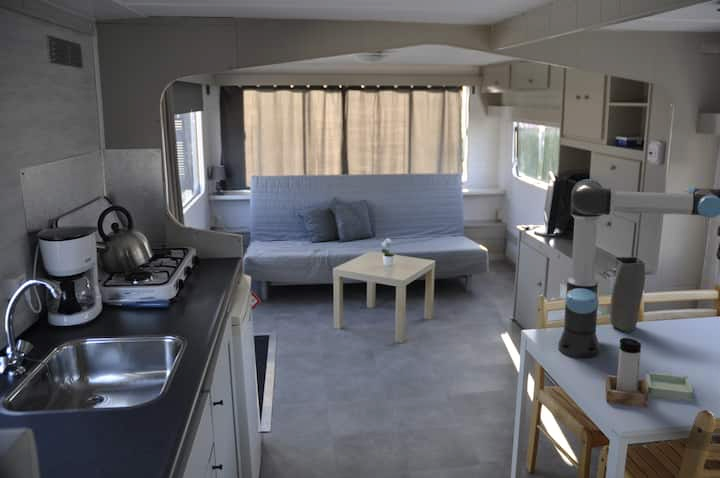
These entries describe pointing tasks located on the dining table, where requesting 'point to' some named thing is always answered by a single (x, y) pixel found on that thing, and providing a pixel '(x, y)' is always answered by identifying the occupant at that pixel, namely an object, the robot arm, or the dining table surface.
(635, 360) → the travel mug
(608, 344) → the dining table surface
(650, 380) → the tray
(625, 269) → the vase
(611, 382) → the holder
